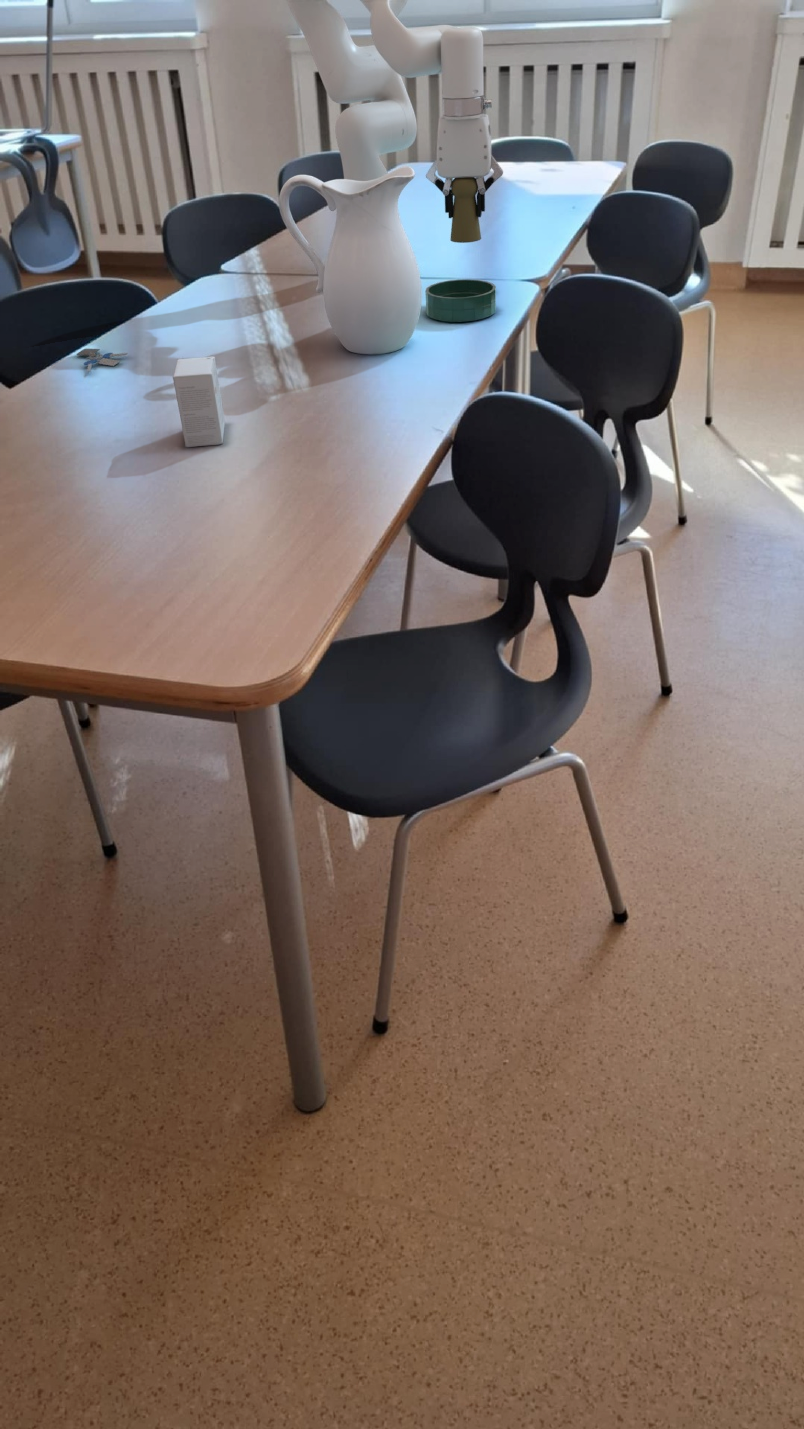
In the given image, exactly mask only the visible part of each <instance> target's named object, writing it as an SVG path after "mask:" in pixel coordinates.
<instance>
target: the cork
mask: <svg viewBox="0 0 804 1429" xmlns="http://www.w3.org/2000/svg"><path fill="white" fill-rule="evenodd" d="M451 191H452V194H453V217H452V218H451V230H450V241H451V242H452V243H458V244H459V243H460V244H465V243H466V244H467V243H474V242H478V241H480V240H482V234H481V233H482V232H481V227H480V217H477V193H478V185H477V181H476V177H469V178H453V180H452V183H451Z"/></svg>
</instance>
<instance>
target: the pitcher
mask: <svg viewBox="0 0 804 1429" xmlns="http://www.w3.org/2000/svg"><path fill="white" fill-rule="evenodd" d="M415 177H416V171H415V170H414V168H413V167H411V166H409V165H404V166H400V167H398V168H395V169H394V170H391V171H390V172H388V174H386V175H384V176H382V177H380V178H377V179H374V180H370V181H355V180H347V179H344V178H336V179H331V180H328V181H325V182H324V181H322V180H321V179H319V178H317V177H315V176H312V175H309V174H297V175H293V176H292V177H290V178H289V179H287V180H286V181H285V183H284V184H283V186H282V187H281V190H280V191H279V196H278V207H279V213H280V216H281V219H282V221H283V223H284V225H285V227H286V229H287V230H288V232H289V234H291V236H292V237H293V239H294V240H295V241H296V243H297V244H298V245H299V246H300V248H302V250H303V251H304V252H305V254H306V255H307V257H308V258H309V259H310V261H311V262H312V264H313V266H314V267H315V269H316V272H317V276H318V279H317V284H316V288H315V291H314V292H315V293H316V294H319V293H323V302H324V303H323V304H324V309H325V313H326V317H327V319H328V322H329V324H330V326H331V329H332V331H333V332H334V334H335V336H336V337H337V339H338V340H339V342H340V343H341V345H342V346H343V348H344V349H346V350H347V351H348V352H350V353H354V354H359V355H360V354H361V355H383V354H389V353H393V352H396V351H399V350H401V349H403V348H405V347H406V346H407V345H408V343H409V342H410V341H411V338H412V337H413V334H414V332H415V331H416V327H417V326H418V323H419V319H420V316H421V315H420V314H421V310H422V302H423V300H422V298H423V288H422V287H423V286H422V279H421V274H420V268H419V264H418V262H417V259H416V255H415V252H414V250H413V248H412V245H411V243H410V240H409V236H408V235H407V233H406V230H405V228H404V226H403V223H402V220H401V217H400V212H399V198H400V196H401V194H402V192H403V190H404V189H405V188H406V186H407V185H408V184H409V183H410V182H411V181H412V180H413V179H414V178H415ZM297 187H309V189H313V190H314V191H316V192H317V193H318V194H319V195H320V196H322V197H323V198H324V200H325V201H326V204H327V207H328V210H329V211H330V212H334V211H336V218H335V226H334V229H333V233H332V237H331V239H330V240H331V241H330V243H329V248H328V252H327V254H326V259H325V263H324V262H323V261H322V259H321V258H320V257H319V255H318V254H317V253H316V251H315V249H314V248H313V247H312V246H311V244H310V243H309V242H308V241H307V239H306V238H305V236H304V235H303V233H302V232H301V230H300V229H299V227H298V226H297V224H296V222H295V220H294V218H293V215H292V212H291V208H290V197H291V193H292V192H293V191H294V189H296V188H297Z"/></svg>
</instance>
